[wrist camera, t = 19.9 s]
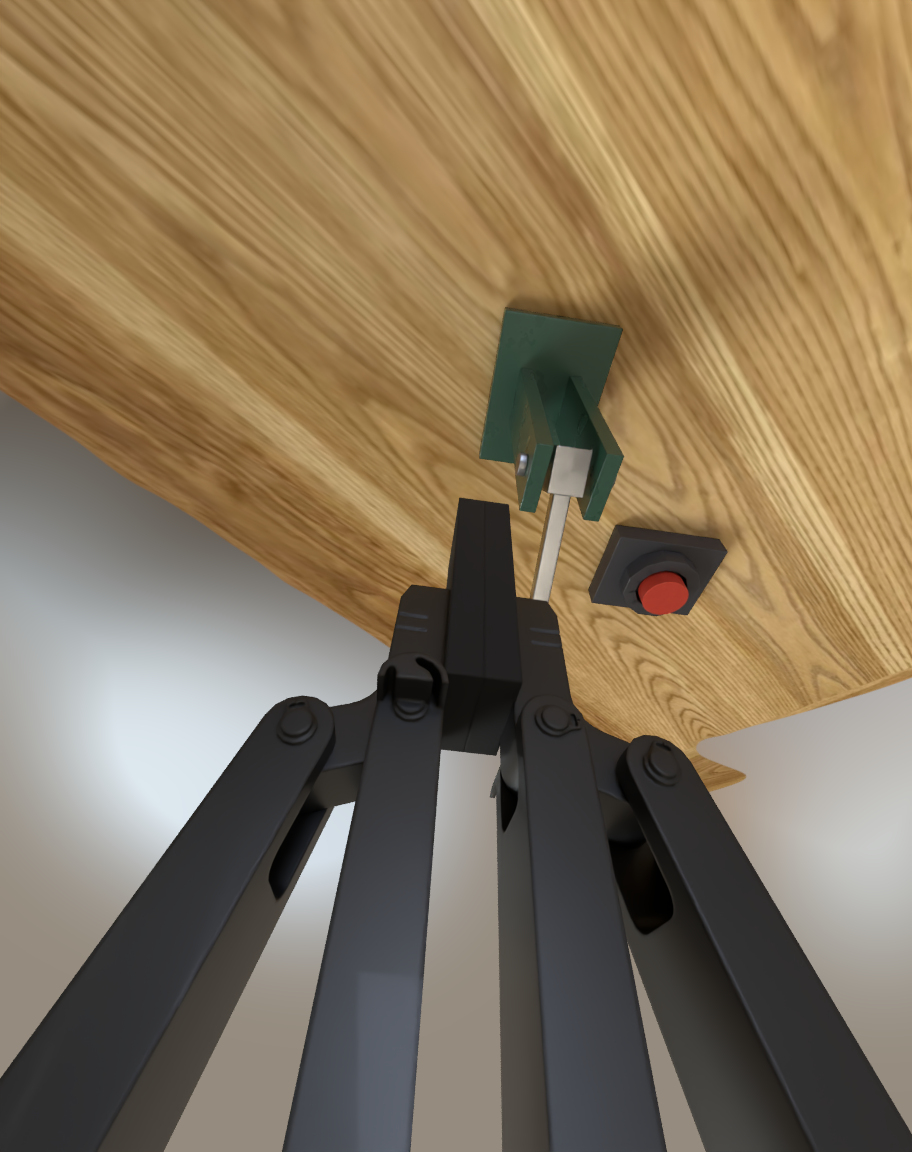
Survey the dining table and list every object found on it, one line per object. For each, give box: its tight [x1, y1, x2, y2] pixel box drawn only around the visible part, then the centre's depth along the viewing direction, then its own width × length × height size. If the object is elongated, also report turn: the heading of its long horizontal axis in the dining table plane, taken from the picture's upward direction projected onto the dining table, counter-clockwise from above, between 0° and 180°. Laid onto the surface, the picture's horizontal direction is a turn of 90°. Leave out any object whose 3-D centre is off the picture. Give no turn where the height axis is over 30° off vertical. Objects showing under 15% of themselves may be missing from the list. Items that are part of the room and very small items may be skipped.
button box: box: [589, 525, 728, 616], centre depth 49 cm, size 11×9×4 cm
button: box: [638, 571, 689, 615], centre depth 47 cm, size 4×4×2 cm
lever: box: [530, 445, 593, 603], centre depth 30 cm, size 17×4×4 cm, turn 173°
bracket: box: [479, 307, 624, 522], centre depth 33 cm, size 12×9×16 cm
